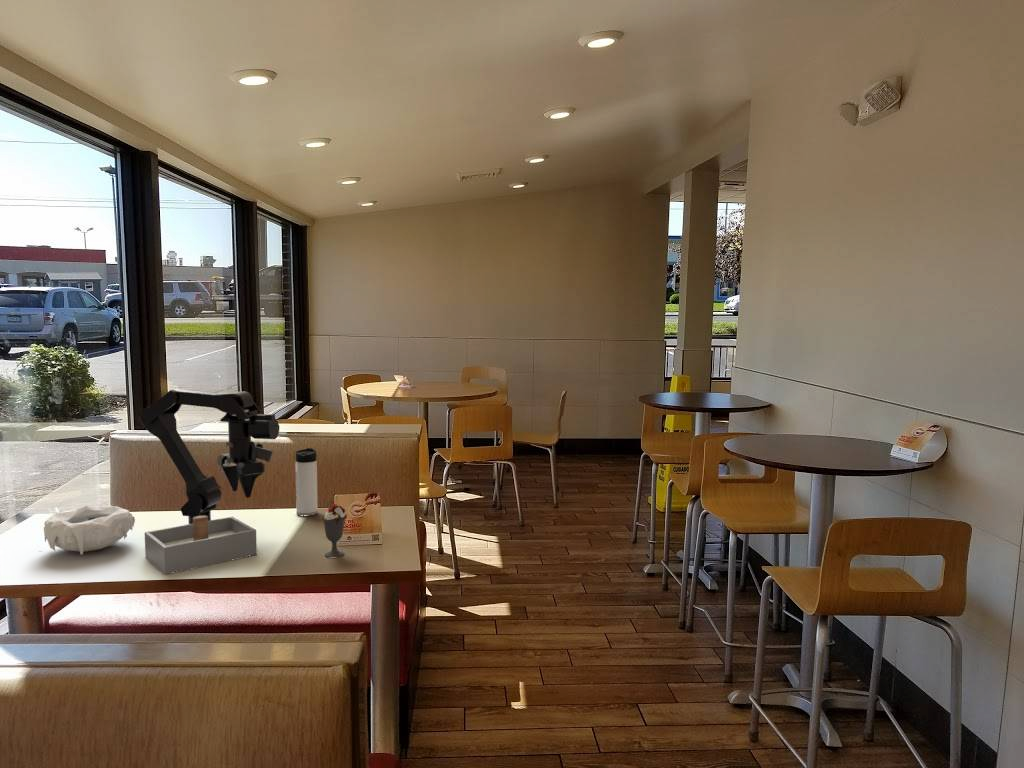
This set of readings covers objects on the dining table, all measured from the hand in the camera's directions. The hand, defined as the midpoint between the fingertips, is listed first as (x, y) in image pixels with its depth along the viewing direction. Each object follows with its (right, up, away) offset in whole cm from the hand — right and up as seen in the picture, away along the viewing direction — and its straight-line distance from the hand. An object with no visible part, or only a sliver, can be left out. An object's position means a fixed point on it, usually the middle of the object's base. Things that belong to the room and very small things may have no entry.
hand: (241, 494), depth 197 cm
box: (-4, -13, -15) cm, 21 cm away
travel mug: (+11, -10, +25) cm, 29 cm away
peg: (-5, -13, -15) cm, 21 cm away
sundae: (+29, -14, -13) cm, 35 cm away
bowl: (-35, -13, -10) cm, 39 cm away
